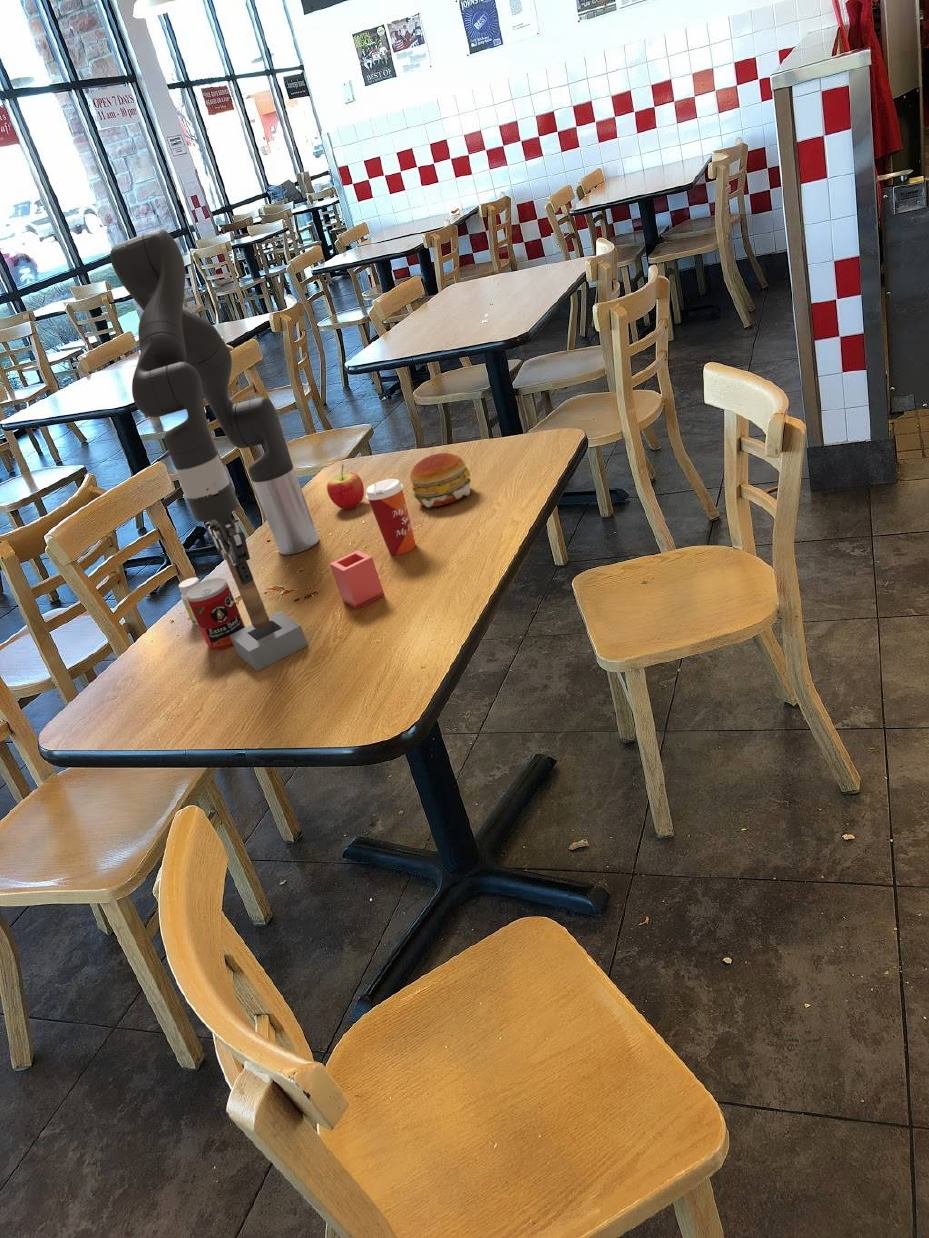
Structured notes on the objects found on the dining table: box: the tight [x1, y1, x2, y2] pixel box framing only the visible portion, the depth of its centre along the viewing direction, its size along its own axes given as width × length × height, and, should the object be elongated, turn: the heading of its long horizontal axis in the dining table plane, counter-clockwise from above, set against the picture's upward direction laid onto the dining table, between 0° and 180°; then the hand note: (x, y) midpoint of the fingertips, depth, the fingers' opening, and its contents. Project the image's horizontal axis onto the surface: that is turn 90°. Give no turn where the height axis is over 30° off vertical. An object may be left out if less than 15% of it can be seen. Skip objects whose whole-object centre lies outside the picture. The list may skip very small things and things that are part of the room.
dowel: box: [222, 546, 270, 628], centre depth 170 cm, size 3×3×15 cm
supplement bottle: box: [178, 577, 201, 626], centre depth 194 cm, size 5×5×8 cm
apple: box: [326, 464, 365, 510], centre depth 231 cm, size 8×8×10 cm
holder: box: [230, 610, 309, 672], centre depth 175 cm, size 10×10×4 cm
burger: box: [409, 452, 471, 508], centre depth 219 cm, size 14×14×10 cm
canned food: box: [186, 577, 246, 650], centre depth 182 cm, size 8×8×11 cm
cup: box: [329, 549, 386, 610], centre depth 183 cm, size 6×6×8 cm
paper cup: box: [365, 478, 416, 556], centre depth 199 cm, size 8×8×14 cm
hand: (243, 579), depth 169 cm, fingers closed on dowel, 3 cm apart
